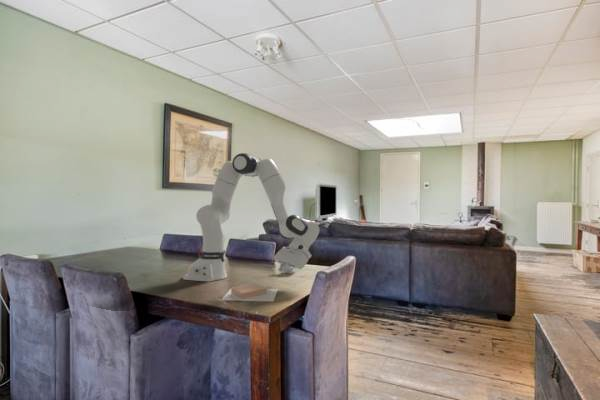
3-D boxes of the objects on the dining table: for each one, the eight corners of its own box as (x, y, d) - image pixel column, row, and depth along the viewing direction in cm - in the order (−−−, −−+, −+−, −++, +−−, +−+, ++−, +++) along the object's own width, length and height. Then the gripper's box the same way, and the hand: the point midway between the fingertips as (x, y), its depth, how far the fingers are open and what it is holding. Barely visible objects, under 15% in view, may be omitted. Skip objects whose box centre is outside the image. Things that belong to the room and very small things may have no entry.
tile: (254, 283, 153) (231, 287, 145) (266, 288, 145) (242, 293, 137) (254, 289, 153) (231, 294, 145) (266, 295, 145) (242, 300, 137)
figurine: (295, 274, 185) (295, 247, 185) (279, 272, 189) (280, 246, 188) (299, 271, 192) (300, 246, 192) (284, 270, 195) (285, 245, 195)
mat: (220, 301, 137) (220, 300, 137) (231, 289, 155) (231, 287, 155) (273, 302, 137) (273, 301, 137) (277, 290, 155) (278, 288, 155)
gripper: (281, 242, 168) (264, 263, 162) (307, 247, 152) (289, 271, 146) (288, 250, 171) (272, 271, 165) (314, 256, 155) (297, 280, 149)
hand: (280, 271), depth 156 cm, fingers closed
